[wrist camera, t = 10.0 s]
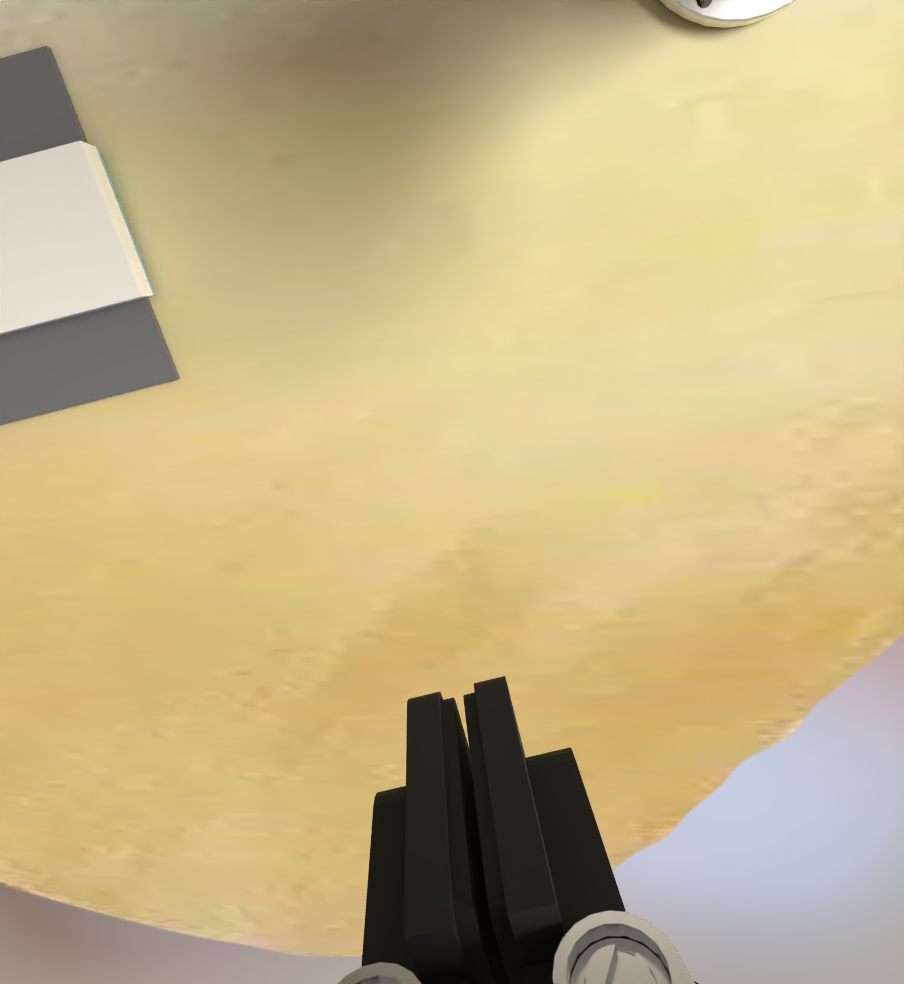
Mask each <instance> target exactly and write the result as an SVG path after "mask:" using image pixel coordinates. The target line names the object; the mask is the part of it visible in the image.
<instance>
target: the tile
mask: <svg viewBox="0 0 904 984" xmlns="http://www.w3.org/2000/svg"><path fill="white" fill-rule="evenodd" d="M154 295H155V293H154V290H153V287H152V285H151V282H150V280H149V277H148V275H147V272H146V269H145V267H144V264H143V262H142V259H141V257H140V254H139V251H138V249H137V246H136V244H135V241H134V238H133V236H132V233H131V231H130V228H129V226H128V223H127V220H126V218H125V215H124V213H123V210H122V207H121V205H120V202H119V200H118V197H117V195H116V192H115V189H114V187H113V184H112V182H111V179H110V176H109V174H108V171H107V169H106V166H105V164H104V161H103V158H102V156H101V153H100V151H99V148H98V147H96V146H93V145H90V144H88V143H85V142H83V141H77V142H73V143H69V144H66V145H62V146H58V147H54V148H51V149H47V150H43V151H39V152H36V153H32V154H28V155H25V156H21V157H17V158H13V159H10V160H6V161H2V162H0V335H4V334H8V333H12V332H15V331H19V330H23V329H27V328H31V327H35V326H39V325H42V324H46V323H50V322H54V321H58V320H62V319H65V318H69V317H73V316H77V315H81V314H85V313H88V312H92V311H96V310H100V309H104V308H108V307H112V306H115V305H119V304H123V303H127V302H131V301H135V300H138V299H142V298H146V297H150V296H154Z"/></svg>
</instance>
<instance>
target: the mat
mask: <svg viewBox="0 0 904 984" xmlns="http://www.w3.org/2000/svg"><path fill="white" fill-rule="evenodd" d="M77 141H83V142H85V143H87V140H86V138H85V135H84V133H83V130H82V127H81V125H80V122H79V120H78V117H77V115H76V112H75V110H74V107H73V104H72V102H71V99H70V97H69V94H68V92H67V89H66V87H65V84H64V81H63V79H62V76H61V74H60V71H59V69H58V66H57V64H56V61H55V59H54V56H53V53H52V51H51V49H50V48H49V47H47V46H45V47H42V48H38V49H34V50H31V51H27V52H23V53H20V54H16V55H12V56H9V57H5V58H1V59H0V162H2V161H6V160H10V159H13V158H17V157H21V156H25V155H28V154H32V153H36V152H39V151H43V150H47V149H51V148H54V147H58V146H62V145H66V144H69V143H73V142H77ZM177 379H180V378H179V375H178V372H177V370H176V367H175V365H174V362H173V360H172V357H171V355H170V352H169V349H168V347H167V344H166V342H165V339H164V337H163V334H162V332H161V329H160V327H159V324H158V321H157V319H156V316H155V314H154V311H153V309H152V306H151V304H150V301H149V298H148V297H146V298H142V299H138V300H135V301H131V302H127V303H123V304H119V305H115V306H112V307H108V308H104V309H100V310H96V311H92V312H88V313H85V314H81V315H77V316H73V317H69V318H65V319H62V320H58V321H54V322H50V323H46V324H42V325H39V326H35V327H31V328H27V329H23V330H19V331H15V332H12V333H8V334H4V335H0V425H2V424H6V423H10V422H14V421H18V420H21V419H25V418H29V417H33V416H37V415H41V414H45V413H49V412H53V411H57V410H60V409H64V408H68V407H72V406H76V405H80V404H84V403H88V402H92V401H96V400H99V399H103V398H107V397H111V396H115V395H119V394H123V393H127V392H131V391H135V390H138V389H142V388H146V387H150V386H154V385H158V384H162V383H166V382H170V381H174V380H177Z"/></svg>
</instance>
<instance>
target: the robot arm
mask: <svg viewBox="0 0 904 984" xmlns="http://www.w3.org/2000/svg"><path fill="white" fill-rule="evenodd" d="M660 1H661V2H662V3H663V4H664V5H665V6H666V7H667V8H668V9H670V10H672V11H673V12H675V13H676V14H678V15H680V16H681V17H683V18H685V19H686V20H689V21H692V22H695V23H698V24H701V25H704V26H711V27H723V28H730V27H736V26H743V25H749V24H752V23H755V22H757V21H760V20H762V19H765V18H768V17H770V16H772V15H774V14H775V13H777V12H778V11H780V10H782V9H783V8H785V7H786V6H788V5H790V4H791V3H792V2H794V1H795V0H699V1H700V2H701V8H700V7H699V6H698V5H697V2H696V0H660ZM474 690H475V693H471V694H467V695H464V696H463V697H464V706H465V715H466V723H467V732H468V740H469V746H468V743H467V740H466V736H465V733H464V729H463V726H462V722H461V719H460V715H459V712H458V708H457V705H456V702H455V699H454V698H450V699H445V700H443V698H442V695H441V693H440V692H436V693H432V694H428V695H423V696H419V697H415V698H411V699H408V701H407V755H406V786H404V787H399V788H395V789H391V790H386V791H382V792H378V793H377V794H376V796H375V800H374V806H373V820H372V834H371V847H370V861H369V874H368V888H367V901H366V915H365V928H364V942H363V955H362V967H361V968H359V969H357V970H356V971H354V972H352V973H350V974H349V975H347V976H345V977H344V978H343V979H342V980H341V981H340V982H339V983H338V984H698V983H696V982H695V981H694V980H693V979H692V977H691V975H690V973H689V971H688V969H687V968H686V966H685V964H684V962H683V960H682V959H681V957H680V955H679V953H678V951H677V950H676V948H675V947H674V946H673V944H672V943H671V942H670V940H669V939H668V938H667V936H666V935H665V934H664V932H662V931H661V930H660V929H659V928H657V927H656V926H654V925H653V924H652V923H651V922H649V921H648V920H647V919H644V918H642V917H639V916H636V915H634V914H632V913H629V912H626V911H625V908H624V905H623V902H622V899H621V896H620V893H619V890H618V887H617V884H616V881H615V878H614V875H613V872H612V869H611V866H610V863H609V860H608V857H607V854H606V851H605V848H604V845H603V842H602V839H601V836H600V832H599V829H598V826H597V823H596V820H595V817H594V814H593V811H592V808H591V805H590V802H589V799H588V796H587V793H586V790H585V787H584V784H583V781H582V778H581V775H580V772H579V769H578V766H577V763H576V760H575V757H574V754H573V751H572V749H571V747H570V748H566V749H562V750H557V751H553V752H549V753H545V754H540V755H536V756H532V757H528V758H525V754H524V750H523V746H522V742H521V738H520V734H519V730H518V726H517V722H516V718H515V714H514V710H513V706H512V702H511V698H510V694H509V690H508V686H507V682H506V678H505V676H503V677H499V678H495V679H491V680H487V681H482V682H478V683H474ZM469 749H470V750H469Z"/></svg>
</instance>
